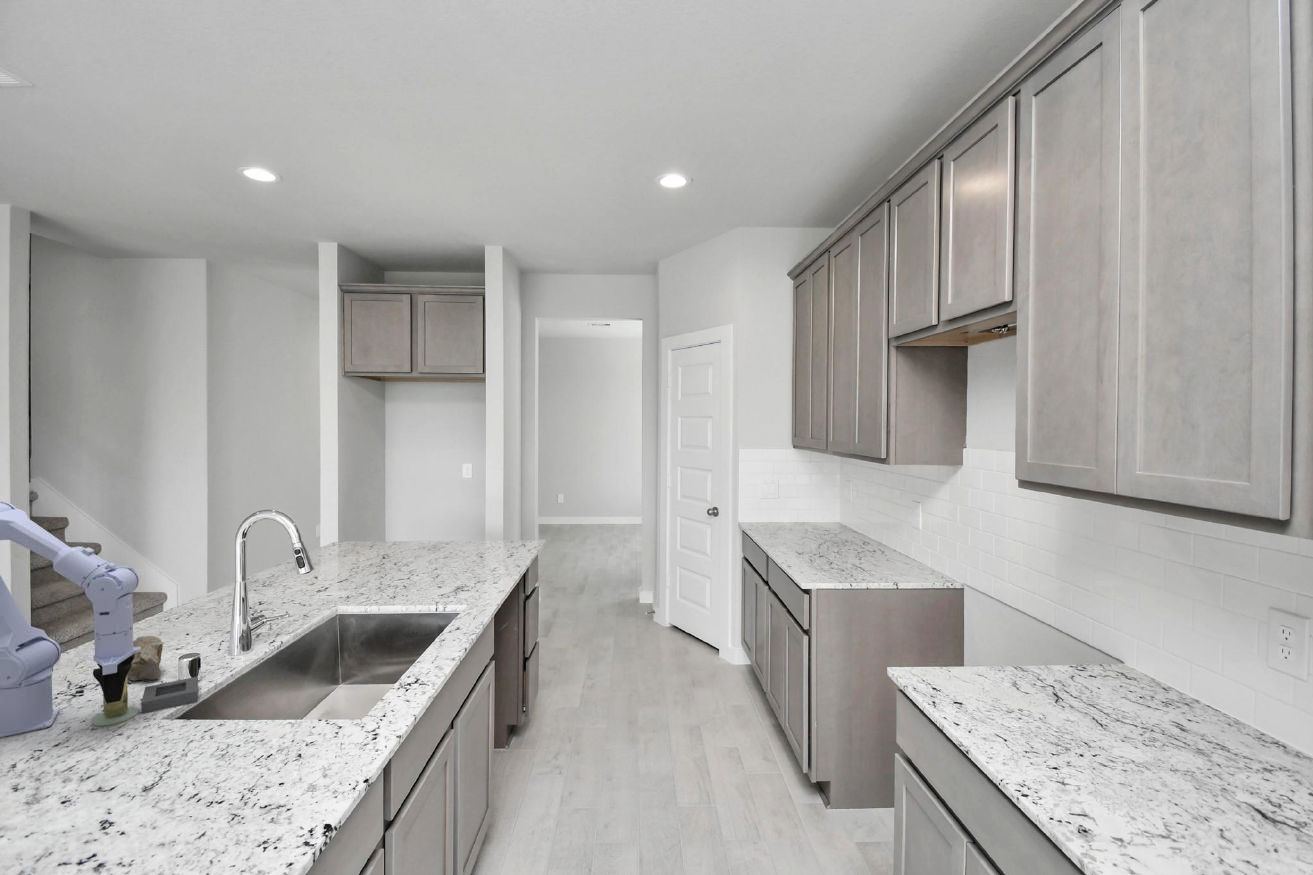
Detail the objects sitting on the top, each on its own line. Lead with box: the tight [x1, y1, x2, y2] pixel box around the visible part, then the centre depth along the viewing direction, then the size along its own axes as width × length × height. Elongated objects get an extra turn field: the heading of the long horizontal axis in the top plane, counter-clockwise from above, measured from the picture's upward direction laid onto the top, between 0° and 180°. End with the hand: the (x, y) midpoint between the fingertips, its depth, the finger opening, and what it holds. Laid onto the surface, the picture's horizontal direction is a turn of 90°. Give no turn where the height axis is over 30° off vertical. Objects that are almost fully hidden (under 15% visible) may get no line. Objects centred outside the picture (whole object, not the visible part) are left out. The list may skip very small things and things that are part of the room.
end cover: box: [102, 676, 129, 717], centre depth 119 cm, size 4×4×7 cm
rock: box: [127, 635, 164, 682], centre depth 139 cm, size 12×7×10 cm, turn 40°
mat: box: [91, 706, 140, 727], centre depth 119 cm, size 7×7×1 cm
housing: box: [140, 676, 199, 715], centre depth 127 cm, size 9×9×2 cm
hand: (115, 697), depth 119 cm, fingers closed on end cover, 4 cm apart
